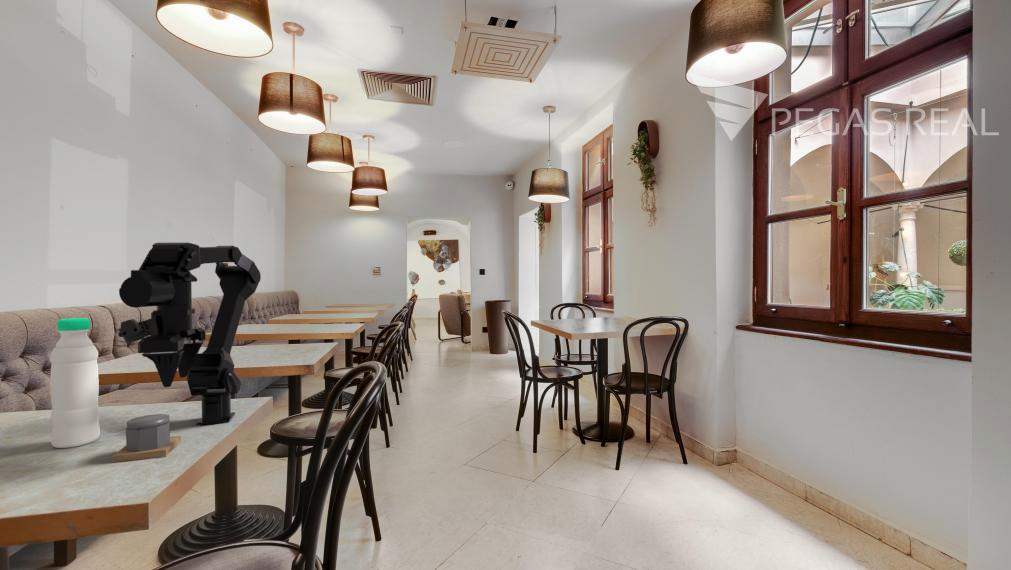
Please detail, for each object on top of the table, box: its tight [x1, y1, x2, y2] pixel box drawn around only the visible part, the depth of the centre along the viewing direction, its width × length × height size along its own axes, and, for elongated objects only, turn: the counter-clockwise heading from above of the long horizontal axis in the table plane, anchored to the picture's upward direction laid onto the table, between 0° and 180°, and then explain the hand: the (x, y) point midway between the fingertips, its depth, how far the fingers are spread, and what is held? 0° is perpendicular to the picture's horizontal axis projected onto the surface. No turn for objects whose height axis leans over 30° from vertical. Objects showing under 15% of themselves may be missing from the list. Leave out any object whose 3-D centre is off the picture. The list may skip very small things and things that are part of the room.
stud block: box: [112, 435, 182, 463], centre depth 86 cm, size 8×8×5 cm
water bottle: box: [49, 317, 101, 449], centre depth 91 cm, size 7×7×25 cm
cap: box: [125, 413, 171, 452], centre depth 86 cm, size 6×6×5 cm
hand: (175, 381), depth 92 cm, fingers open, 9 cm apart
